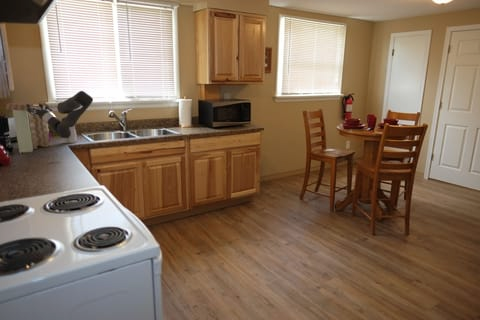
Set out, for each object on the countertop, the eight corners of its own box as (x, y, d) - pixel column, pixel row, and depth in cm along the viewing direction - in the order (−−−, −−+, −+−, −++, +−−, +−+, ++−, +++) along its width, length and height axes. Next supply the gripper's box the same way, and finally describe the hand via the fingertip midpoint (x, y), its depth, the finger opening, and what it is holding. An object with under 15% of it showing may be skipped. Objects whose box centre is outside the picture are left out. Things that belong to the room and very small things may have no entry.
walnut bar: (6, 109, 233) (5, 103, 232) (12, 109, 237) (11, 103, 236) (28, 110, 223) (27, 104, 222) (34, 110, 226) (33, 104, 225)
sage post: (20, 150, 238) (13, 109, 231) (32, 149, 242) (26, 109, 235) (19, 152, 232) (12, 110, 224) (32, 151, 236) (26, 110, 228)
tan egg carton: (20, 147, 251) (14, 105, 244) (36, 144, 262) (30, 104, 254) (34, 148, 245) (27, 106, 237) (49, 146, 255) (43, 105, 248)
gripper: (59, 111, 223) (44, 99, 227) (39, 113, 211) (23, 100, 215) (56, 120, 226) (42, 108, 230) (36, 123, 214) (21, 110, 218)
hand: (33, 104), depth 222 cm, fingers open, 8 cm apart
